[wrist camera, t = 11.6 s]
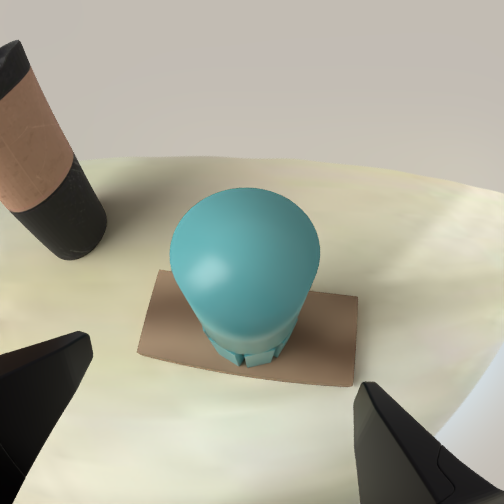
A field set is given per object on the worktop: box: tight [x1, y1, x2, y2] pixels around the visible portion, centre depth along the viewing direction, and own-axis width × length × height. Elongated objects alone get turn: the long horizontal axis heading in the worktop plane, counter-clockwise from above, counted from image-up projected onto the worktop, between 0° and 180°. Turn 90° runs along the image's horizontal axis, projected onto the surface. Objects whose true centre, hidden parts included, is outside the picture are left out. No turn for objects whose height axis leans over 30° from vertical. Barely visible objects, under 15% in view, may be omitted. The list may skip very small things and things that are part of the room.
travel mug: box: [0, 40, 107, 260], centre depth 19 cm, size 8×8×20 cm
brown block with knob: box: [137, 270, 358, 387], centre depth 21 cm, size 7×16×4 cm, turn 81°
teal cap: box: [170, 188, 320, 368], centre depth 17 cm, size 6×6×12 cm
